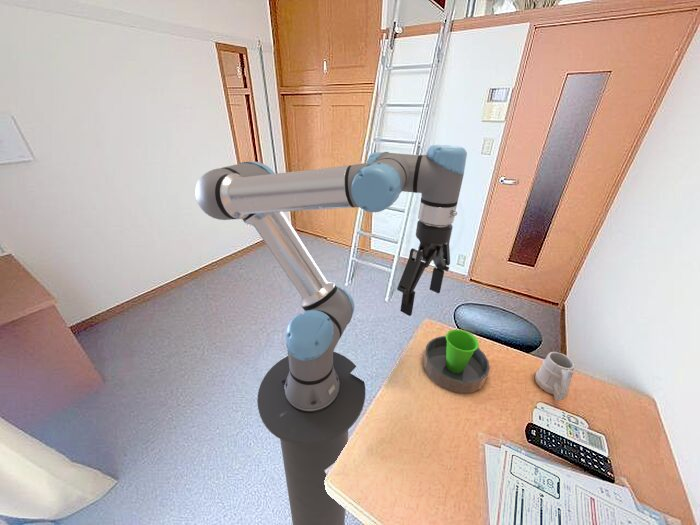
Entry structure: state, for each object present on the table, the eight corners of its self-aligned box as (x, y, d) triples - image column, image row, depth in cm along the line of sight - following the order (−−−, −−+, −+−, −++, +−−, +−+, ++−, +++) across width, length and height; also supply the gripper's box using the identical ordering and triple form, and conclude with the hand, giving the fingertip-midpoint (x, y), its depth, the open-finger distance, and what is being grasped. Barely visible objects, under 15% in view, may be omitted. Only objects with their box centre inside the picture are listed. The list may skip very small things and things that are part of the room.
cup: (433, 364, 88) (439, 337, 83) (450, 351, 93) (457, 325, 88) (459, 384, 82) (467, 356, 77) (476, 369, 87) (485, 342, 82)
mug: (560, 377, 85) (576, 348, 80) (572, 412, 75) (592, 381, 70) (531, 370, 87) (545, 341, 82) (540, 403, 78) (556, 372, 72)
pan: (413, 372, 86) (415, 361, 84) (436, 338, 99) (438, 328, 97) (476, 405, 76) (480, 394, 74) (491, 363, 90) (495, 352, 88)
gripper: (419, 242, 52) (405, 332, 62) (475, 213, 68) (457, 288, 78) (386, 231, 57) (378, 316, 67) (446, 206, 73) (432, 278, 83)
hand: (421, 301), depth 72 cm, fingers open, 13 cm apart
